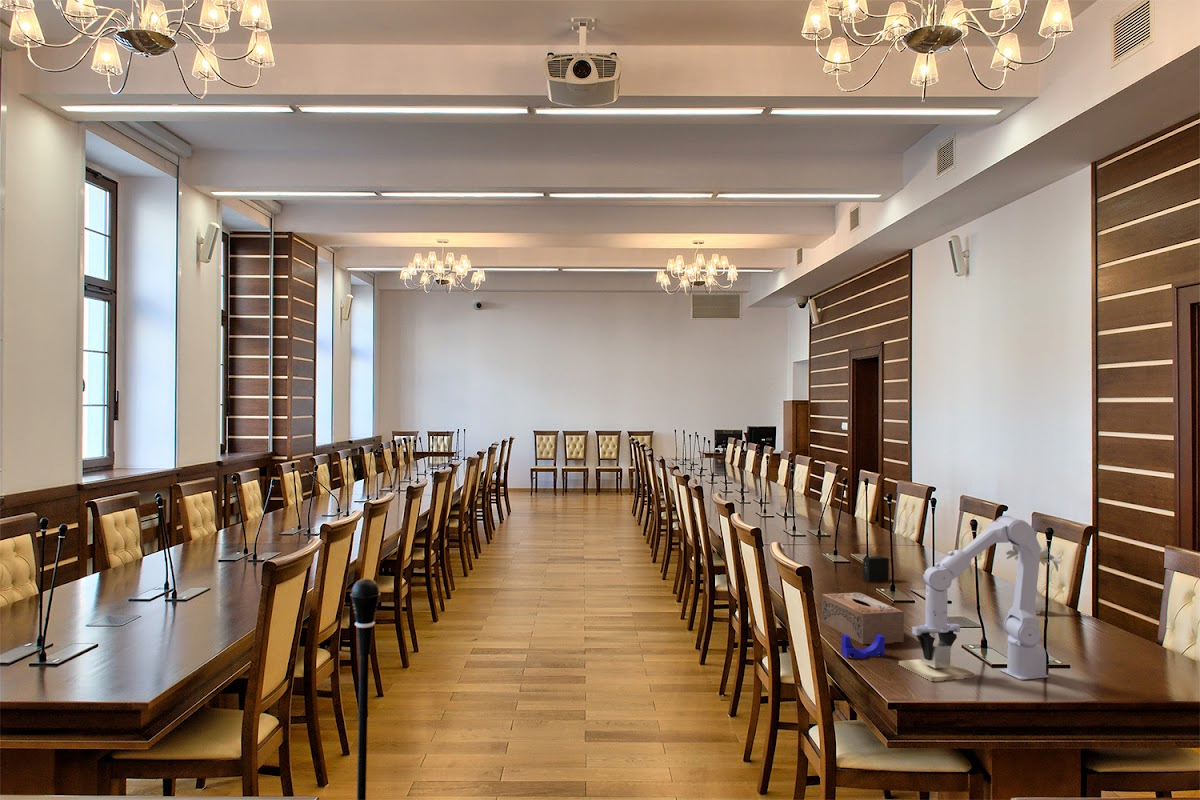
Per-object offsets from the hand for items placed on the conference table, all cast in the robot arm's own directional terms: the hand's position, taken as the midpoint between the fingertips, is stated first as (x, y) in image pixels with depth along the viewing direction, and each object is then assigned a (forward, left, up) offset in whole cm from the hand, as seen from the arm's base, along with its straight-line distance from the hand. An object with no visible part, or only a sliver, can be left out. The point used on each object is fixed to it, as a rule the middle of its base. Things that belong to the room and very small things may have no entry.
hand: (935, 658), depth 221 cm
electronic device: (-54, -105, -4) cm, 118 cm away
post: (0, 0, -2) cm, 2 cm away
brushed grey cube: (0, 0, -2) cm, 2 cm away
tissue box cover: (-2, -39, -4) cm, 39 cm away
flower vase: (-80, -47, -4) cm, 93 cm away
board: (0, 0, -4) cm, 4 cm away
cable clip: (+12, -17, -4) cm, 21 cm away
